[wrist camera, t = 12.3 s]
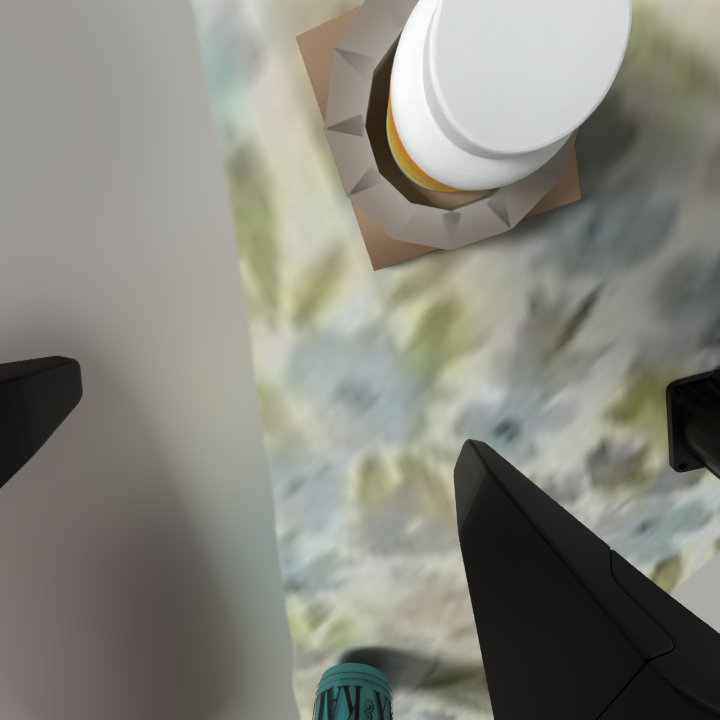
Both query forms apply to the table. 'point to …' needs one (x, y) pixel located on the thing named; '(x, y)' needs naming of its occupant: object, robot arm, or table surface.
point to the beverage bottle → (353, 694)
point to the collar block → (376, 163)
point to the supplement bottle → (498, 85)
